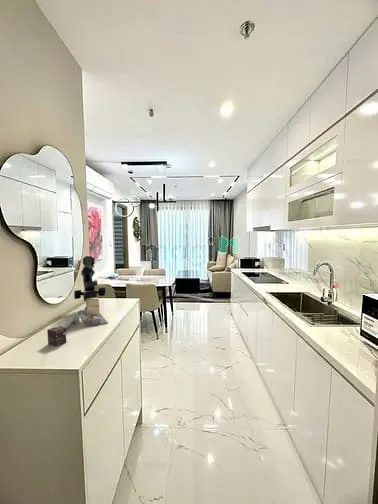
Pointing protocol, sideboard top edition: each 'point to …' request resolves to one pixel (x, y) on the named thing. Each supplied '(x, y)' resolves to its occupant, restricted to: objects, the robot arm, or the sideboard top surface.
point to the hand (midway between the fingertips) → (91, 304)
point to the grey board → (93, 320)
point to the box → (56, 336)
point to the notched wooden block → (92, 307)
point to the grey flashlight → (70, 320)
